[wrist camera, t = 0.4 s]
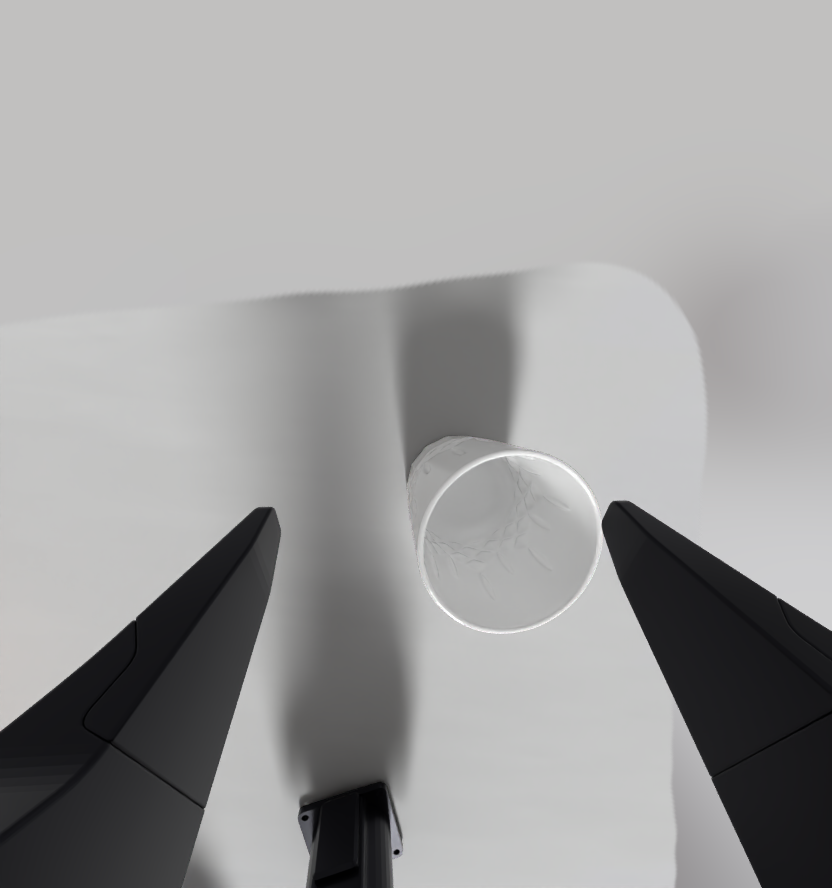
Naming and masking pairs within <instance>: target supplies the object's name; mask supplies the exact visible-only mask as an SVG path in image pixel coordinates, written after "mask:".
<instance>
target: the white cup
mask: <svg viewBox="0 0 832 888" xmlns="http://www.w3.org/2000/svg"><path fill="white" fill-rule="evenodd" d="M407 491H408V508H409V517H410V522H411V527H412V533H413V538H414V544H415V549H416V555H417V560H418V566H419V571H420V574H421V577H422V580H423V583H424V585H425V587H426V589H427V591H428V593H429V595H430V596H431V598H432V599H433V600H434V602H435V603H436V604H437V605H438V606H439V608H440V609H441V610H442V611H443V612H445V613H446V614H447V615H448V616H449V617H451V618H452V619H454V620H455V621H457V622H458V623H460V624H462V625H464V626H467V627H469V628H472V629H475V630H478V631H482V632H487V633H497V634H505V633H516V632H521V631H526V630H529V629H532V628H535V627H538V626H540V625H542V624H545V623H547V622H548V621H550V620H552V619H554V618H555V617H557V616H558V615H560V614H561V613H562V612H564V611H565V610H566V609H567V608H568V607H570V606H571V605H572V604H573V603H574V602H575V601H576V599H577V598H578V597H579V596H580V595H581V594H582V592H583V591H584V589H585V588H586V587H587V585H588V583H589V582H590V580H591V578H592V576H593V574H594V572H595V570H596V567H597V564H598V561H599V558H600V554H601V549H602V541H603V531H602V527H601V524H602V517H601V513H600V509H599V506H598V503H597V500H596V498H595V496H594V494H593V492H592V490H591V488H590V487H589V485H588V484H587V482H586V481H585V480H584V479H583V478H582V476H581V475H580V474H579V473H578V472H577V471H576V470H574V469H573V468H572V467H571V466H569V465H568V464H567V463H565V462H563V461H562V460H560V459H558V458H556V457H554V456H551V455H549V454H546V453H543V452H539V451H535V450H530V449H526V448H522V447H518V446H515V445H511V444H507V443H503V442H499V441H495V440H489V439H484V438H477V437H471V436H446V437H444V438H442V439H440V440H438V441H436V442H434V443H432V444H430V445H428V446H426V447H425V448H424V449H423V451H422V452H421V453H420V454H419V456H418V457H417V458H416V459H415V461H414V462H413V463H412V465H411V469H410V473H409V478H408V482H407Z"/></svg>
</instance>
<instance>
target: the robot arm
mask: <svg viewBox="0 0 832 888" xmlns="http://www.w3.org/2000/svg"><path fill="white" fill-rule="evenodd" d="M601 527H602V531H603V534H604V537H605V540H606V543H607V546H608V549H609V552H610V555H611V558H612V560H613V563H614V566H615V569H616V572H617V575H618V577H619V580H620V582H621V585H622V587H623V589H624V592H625V594H626V596H627V598H628V600H629V602H630V605H631V607H632V609H633V611H634V613H635V615H636V617H637V620H638V622H639V624H640V626H641V628H642V630H643V632H644V635H645V637H646V639H647V641H648V643H649V645H650V648H651V650H652V652H653V654H654V656H655V658H656V660H657V663H658V665H659V667H660V669H661V671H662V673H663V676H664V678H665V680H666V682H667V684H668V686H669V688H670V691H671V693H672V695H673V697H674V699H675V701H676V704H677V705H678V708H679V710H680V712H681V714H682V716H683V718H684V721H685V723H686V725H687V727H688V729H689V731H690V734H691V736H692V738H693V740H694V742H695V744H696V747H697V749H698V751H699V753H700V755H701V757H702V759H703V762H704V764H705V766H706V768H707V770H708V772H709V775H710V776H711V777H712V778H711V779H712V781H713V783H714V786H715V788H716V790H717V792H718V794H719V797H720V799H721V801H722V803H723V805H724V807H725V809H726V812H727V814H728V816H729V818H730V820H731V822H732V825H733V827H734V829H735V831H736V833H737V835H738V837H739V839H740V842H741V844H742V846H743V848H744V850H745V853H746V855H747V857H748V859H749V861H750V863H751V865H752V868H753V870H754V872H755V874H756V876H757V878H758V880H759V883H760V885H761V887H762V888H832V631H830V630H829V629H827V628H826V627H824V626H822V625H821V624H819V623H818V622H816V621H814V620H813V619H811V618H810V617H808V616H806V615H805V614H803V613H802V612H800V611H799V610H797V609H795V608H794V607H792V606H791V605H789V604H788V603H786V602H785V601H783V600H782V599H779V598H777V597H776V596H775V595H774V594H772V593H771V592H769V591H768V590H766V589H764V588H763V587H761V586H760V585H758V584H757V583H755V582H754V581H752V580H750V579H749V578H747V577H746V576H744V575H743V574H741V573H740V572H738V571H737V570H735V569H734V568H732V567H730V566H729V565H727V564H726V563H724V562H723V561H721V560H720V559H718V558H717V557H715V556H713V555H712V554H710V553H709V552H707V551H706V550H704V549H702V548H701V547H700V546H698V545H696V544H695V543H693V542H692V541H690V540H689V539H687V538H686V537H684V536H683V535H681V534H679V533H678V532H676V531H675V530H673V529H672V528H670V527H669V526H667V525H666V524H664V523H662V522H661V521H659V520H658V519H656V518H655V517H653V516H652V515H650V514H649V513H647V512H645V511H644V510H642V509H641V508H639V507H638V506H636V505H635V504H633V503H631V502H630V501H613V502H611V503H610V505H609V507H608V509H607V511H606V513H605V516H604V518H603V520H602V524H601ZM280 537H281V529H280V525H279V522H278V518H277V515H276V511H275V509H274V508H273V507H258V508H256V509H254V510H253V511H252V512H251V513H250V514H249V515H248V516H247V517H246V518H245V519H243V520H242V521H241V522H240V523H239V524H238V525H237V526H236V527H235V528H234V529H232V530H231V531H230V532H229V533H228V534H227V535H226V536H225V537H224V538H223V539H222V540H220V541H219V542H218V543H217V544H216V545H215V546H214V547H213V548H212V549H211V550H210V551H208V552H207V553H206V554H205V555H204V556H203V557H202V558H201V559H200V560H199V561H197V562H196V563H195V564H194V565H193V566H192V567H191V568H190V569H189V570H188V571H187V572H185V573H184V574H183V575H182V576H181V577H180V578H179V579H178V580H177V581H176V582H175V583H173V584H172V585H171V586H170V587H169V588H168V589H167V590H166V591H165V592H164V593H162V594H161V595H160V596H159V597H158V598H157V599H156V600H155V601H154V602H153V603H152V604H150V605H149V606H148V607H147V608H146V609H145V610H144V611H143V612H142V613H141V614H140V615H138V616H137V618H136V621H135V620H133V621H132V622H131V623H129V624H128V625H127V626H126V627H125V628H124V629H123V630H122V631H121V632H120V633H119V634H117V635H116V636H115V637H114V638H113V639H112V640H111V641H110V642H108V643H107V644H106V645H105V646H104V647H103V648H102V649H101V650H99V651H98V652H97V653H96V654H95V655H94V656H93V657H91V658H90V659H89V660H88V661H87V662H85V663H84V664H83V665H82V666H81V667H79V668H78V669H77V670H76V671H75V672H73V673H72V674H71V675H70V676H69V677H67V678H66V679H65V680H64V681H63V682H61V683H60V684H59V685H58V686H56V687H55V688H54V689H53V690H51V691H50V692H49V693H48V694H46V695H45V696H44V697H43V698H42V699H40V700H39V701H38V702H37V703H35V704H34V705H33V706H32V707H30V708H29V709H28V710H27V711H25V712H24V713H23V714H22V715H20V716H19V717H18V718H17V719H15V720H14V721H13V722H12V723H10V724H9V725H8V726H7V727H5V728H4V729H3V730H2V731H0V888H181V887H182V884H183V881H184V877H185V874H186V871H187V867H188V864H189V861H190V857H191V854H192V851H193V848H194V844H195V841H196V838H197V834H198V831H199V828H200V824H201V821H202V818H203V814H204V808H205V807H206V804H207V801H208V797H209V794H210V791H211V787H212V784H213V781H214V777H215V774H216V771H217V767H218V764H219V761H220V758H221V754H222V751H223V748H224V744H225V741H226V738H227V734H228V731H229V728H230V725H231V721H232V718H233V715H234V711H235V708H236V705H237V701H238V698H239V695H240V691H241V688H242V685H243V682H244V678H245V675H246V672H247V668H248V665H249V662H250V658H251V655H252V652H253V649H254V645H255V642H256V639H257V635H258V632H259V629H260V625H261V622H262V619H263V616H264V612H265V609H266V606H267V602H268V599H269V595H270V591H271V586H272V581H273V576H274V570H275V564H276V559H277V553H278V548H279V542H280ZM298 822H299V825H300V828H301V831H302V833H303V836H304V839H305V842H306V845H307V848H308V851H309V854H310V860H309V868H308V875H307V883H306V888H393V869H392V859H395V858H397V857H400V856H401V855H402V853H403V844H402V840H401V836H400V833H399V829H398V826H397V822H396V819H395V815H394V811H393V808H392V804H391V801H390V797H389V793H388V790H387V786H386V784H385V783H383V782H378V783H375V784H372V785H369V786H366V787H363V788H360V789H357V790H353V791H350V792H347V793H344V794H341V795H338V796H335V797H332V798H328V799H325V800H322V801H319V802H316V803H313V804H310V805H307V806H304V807H302V808H301V809H300V810H299V815H298Z"/></svg>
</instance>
